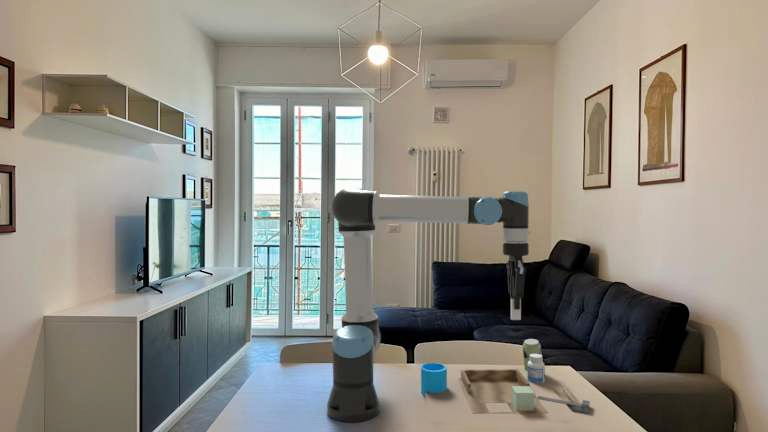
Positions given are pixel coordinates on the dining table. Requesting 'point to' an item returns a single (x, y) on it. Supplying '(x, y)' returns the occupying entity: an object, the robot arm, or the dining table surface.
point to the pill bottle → (536, 369)
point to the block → (522, 398)
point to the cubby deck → (493, 388)
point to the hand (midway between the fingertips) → (515, 319)
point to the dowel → (570, 395)
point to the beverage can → (530, 350)
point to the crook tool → (571, 404)
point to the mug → (433, 378)
